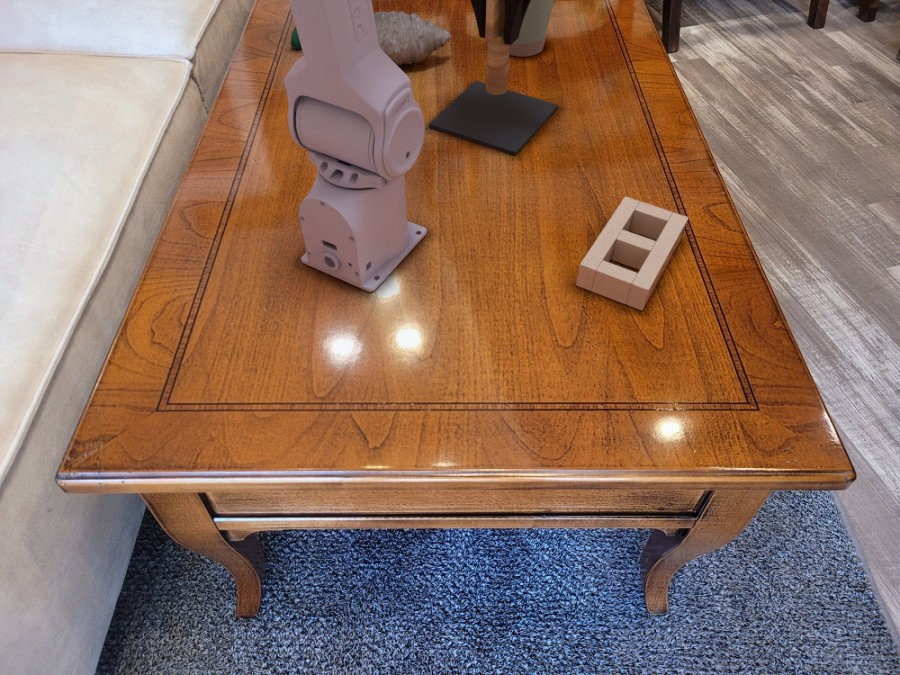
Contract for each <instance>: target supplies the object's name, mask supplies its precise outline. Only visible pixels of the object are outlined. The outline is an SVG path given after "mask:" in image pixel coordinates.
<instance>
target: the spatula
mask: <svg viewBox="0 0 900 675" xmlns="http://www.w3.org/2000/svg"><path fill="white" fill-rule="evenodd" d="M504 22H505V2H504V0H487V4H486V29H485V38H484V40H486V41H487V44H486V69H485V70H486V71H485V84H486V91H487V92H488V93H490V94H493V95H501V94H504V93H505V92H506V91H507V90H508V85H509V84H508V83H509V69H510V56H511V55H510V45H507V44H504Z"/></svg>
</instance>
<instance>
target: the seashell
mask: <svg viewBox="0 0 900 675" xmlns="http://www.w3.org/2000/svg"><path fill="white" fill-rule="evenodd" d="M374 18H375V24H376V29H377V35H378V41H379V46H380V48H381V49H382V50H383V51H384V53H385V54H386V55H387V56H388V57H389V58H390V59H391V60H392V61H393V62H394V63H395V64H396V65H397V66H402V65H404V64H405V65H412V64H413V63H415V64H418V63H420V62H424V61H425V59H426V58H427V56H429V55H432V54H433V53H434V52H435V51H437V50H439V49H440V48H442V47H445V46H446V45H447V43H448V42H450V41H451V40H452V35H451V31H449V29H448V28H446V29H442V28H441V27H438V26H437V24H433V23H432V22H431V21H430V19H422V18H421V17H420V16H419V15H418V14H417V13H415V12H413V13H411V14H408V13H405V12H404V11H402V10H401V11H398V12H397V11H396V10H393V11H388V12H386V11H376V12H374Z"/></svg>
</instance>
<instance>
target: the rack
mask: <svg viewBox="0 0 900 675" xmlns="http://www.w3.org/2000/svg"><path fill="white" fill-rule="evenodd" d="M688 221H689V217H688V216H686V215H684V214H681V213H677V212H674V211H671V210H669V209H665V208H662V207H659V206H656V205H654V204H650V203H647V202H644V201H640V200H638V199H635V198H632V197H629V196H624V197H623V199H622V200H621V202H620V203H619V205H618V206H617V207H616V209H615V210H614V212H613V213H612V215H611V216H610V218H609V220H608V221H607V223H605V225H604V227H603V228H602V230H601V232H600V233H599V234H598V236H597V238H596V239H595V241H594V242H593V244H592V245H591V247H590V248H589V250H588V251H587V253H586V254H585V255H584V257H583V258H582V260H581V262H580V263H579V266H578V271H577V277H576V280H575V281H576V282H575V286H576V287H579V288H581V289H584V290H587V291H589V292H592V293H594V294H598V295H600V296H602V297H605V298H608V299H610V300H613V301H615V302H618V303H620V304H623V305H625V306H628V307H631V308H633V309H637V310H639V311H643V310H645V307H646V306H647V303H648V301H649V300H650V297H651V296H652V294H653V292H654V290H655V289H656V287H657V285H658V283H659V281H660V280H661V277H662V275H663V273H665V271H666V268H667V266H668V265H669V263H670V261H671V259H672V258H673V255H674V253H675V252H676V250H677V248H678V246H679V244H680V243H681V241H682V239H683V236H684V233H685V230H686V227H687V224H688ZM611 260H612V261H613V262H616V263H618V264H622V265H624V266H626V267H630V268H633V269H635V270H638V272H636V271H633V270H632V269H631V270H630V269H628V268H625V267H622V266H620V265H617V264H614V263H611Z"/></svg>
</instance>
